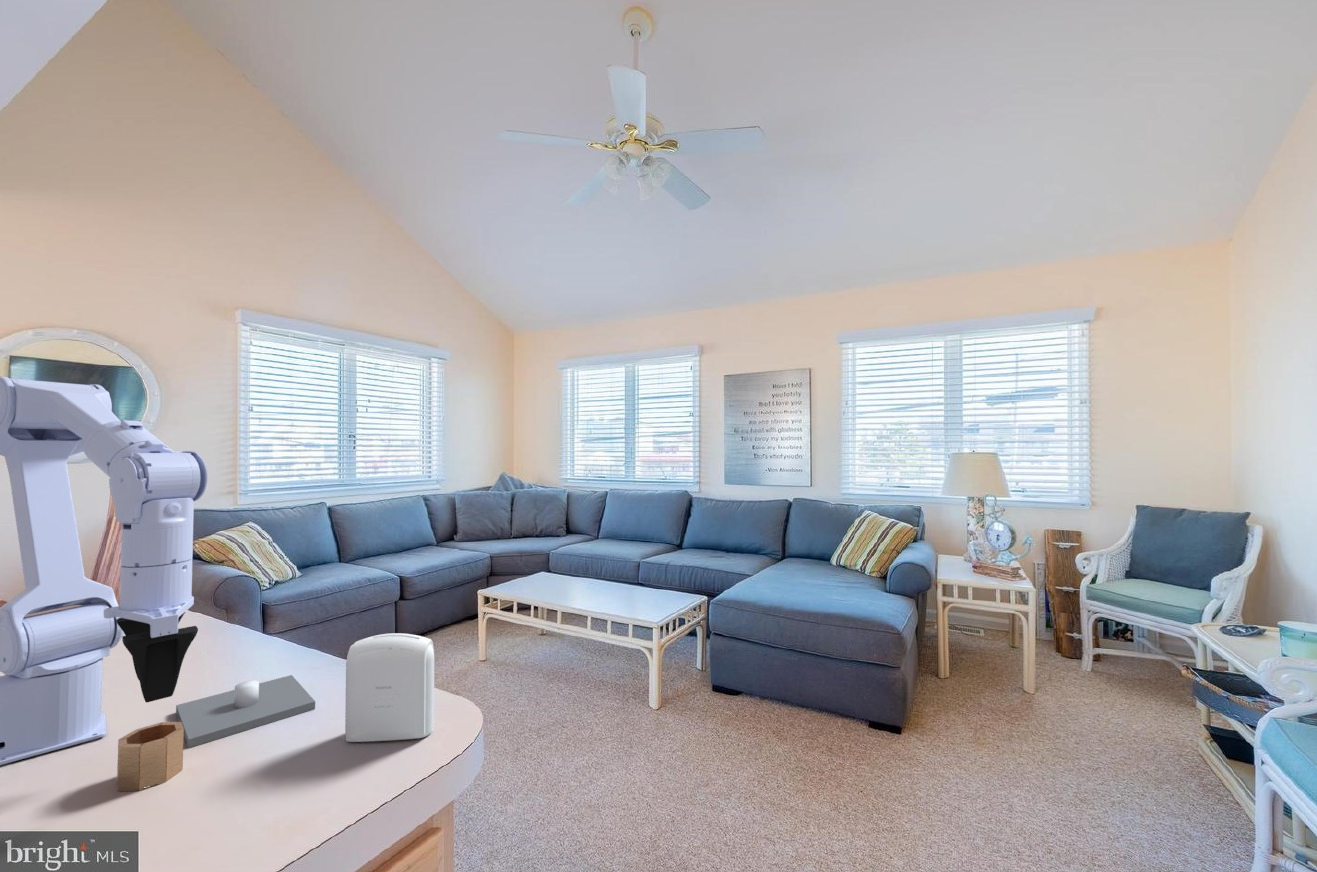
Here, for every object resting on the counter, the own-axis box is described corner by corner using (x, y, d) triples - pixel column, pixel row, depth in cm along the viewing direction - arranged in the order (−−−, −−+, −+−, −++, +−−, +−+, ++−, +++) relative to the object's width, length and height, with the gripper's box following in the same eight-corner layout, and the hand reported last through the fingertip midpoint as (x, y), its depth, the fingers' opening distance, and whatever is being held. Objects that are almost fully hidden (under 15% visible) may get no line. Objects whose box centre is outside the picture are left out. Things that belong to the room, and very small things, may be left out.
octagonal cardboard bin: (118, 797, 54) (119, 752, 54) (116, 776, 57) (117, 734, 57) (184, 775, 57) (185, 733, 57) (178, 756, 61) (179, 717, 61)
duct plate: (188, 747, 63) (189, 718, 63) (176, 712, 71) (176, 686, 71) (315, 708, 72) (315, 682, 72) (291, 681, 80) (292, 658, 80)
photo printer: (338, 746, 63) (340, 642, 64) (355, 727, 68) (357, 629, 68) (427, 742, 64) (429, 640, 65) (438, 723, 69) (440, 628, 69)
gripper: (101, 558, 60) (98, 679, 59) (108, 579, 50) (105, 724, 50) (184, 549, 65) (182, 660, 65) (206, 567, 55) (203, 698, 55)
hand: (154, 687), depth 58 cm, fingers open, 7 cm apart
